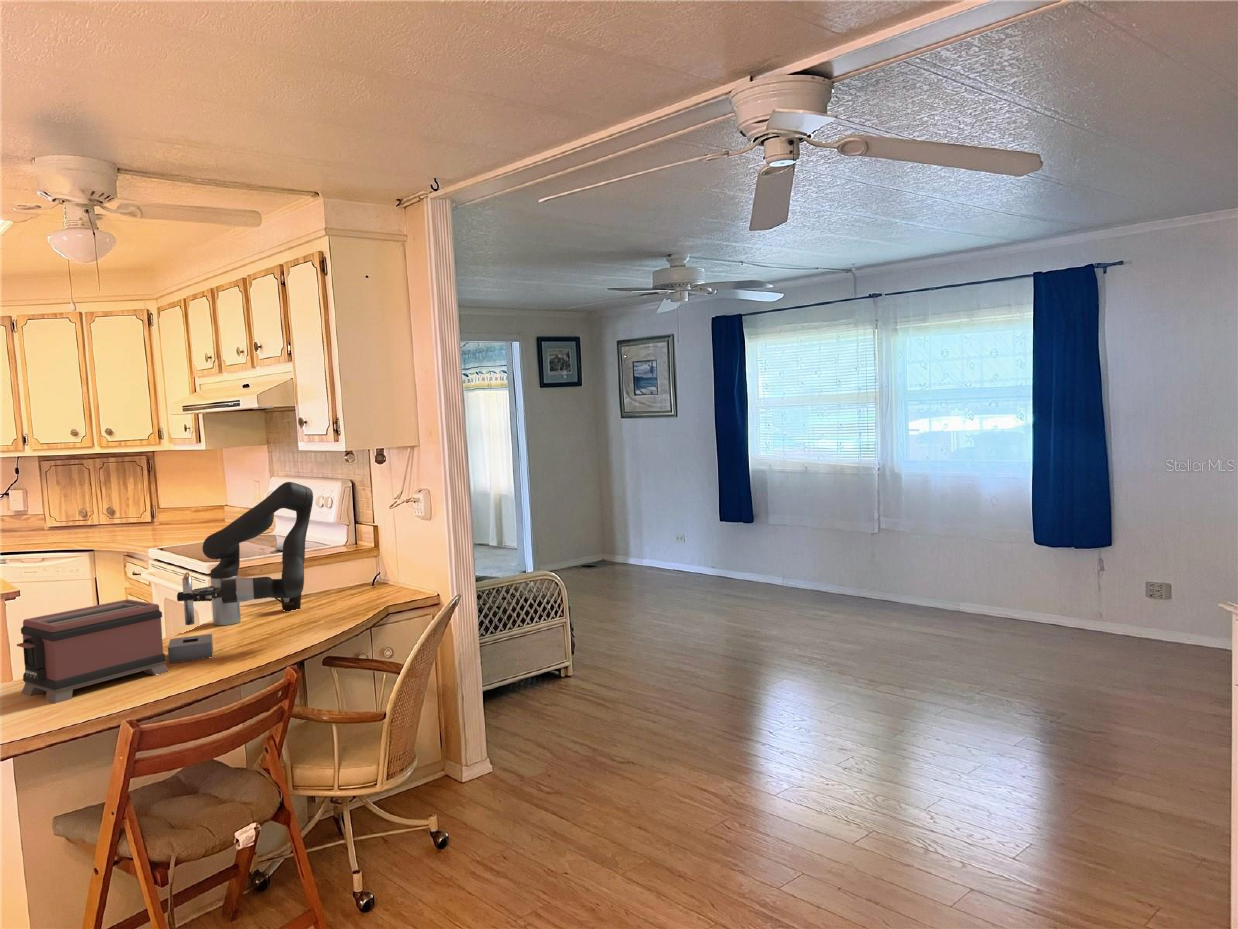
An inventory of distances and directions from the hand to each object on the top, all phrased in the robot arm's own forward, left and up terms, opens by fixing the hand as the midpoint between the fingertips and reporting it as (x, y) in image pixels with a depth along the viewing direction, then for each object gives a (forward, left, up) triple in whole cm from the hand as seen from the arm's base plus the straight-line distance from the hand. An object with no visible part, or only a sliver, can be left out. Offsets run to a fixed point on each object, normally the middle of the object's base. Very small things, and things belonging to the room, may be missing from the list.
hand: (177, 597), depth 264 cm
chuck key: (0, +3, -9) cm, 9 cm away
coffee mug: (-55, +35, -19) cm, 68 cm away
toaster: (+17, -22, -20) cm, 34 cm away
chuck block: (0, +3, -19) cm, 19 cm away
